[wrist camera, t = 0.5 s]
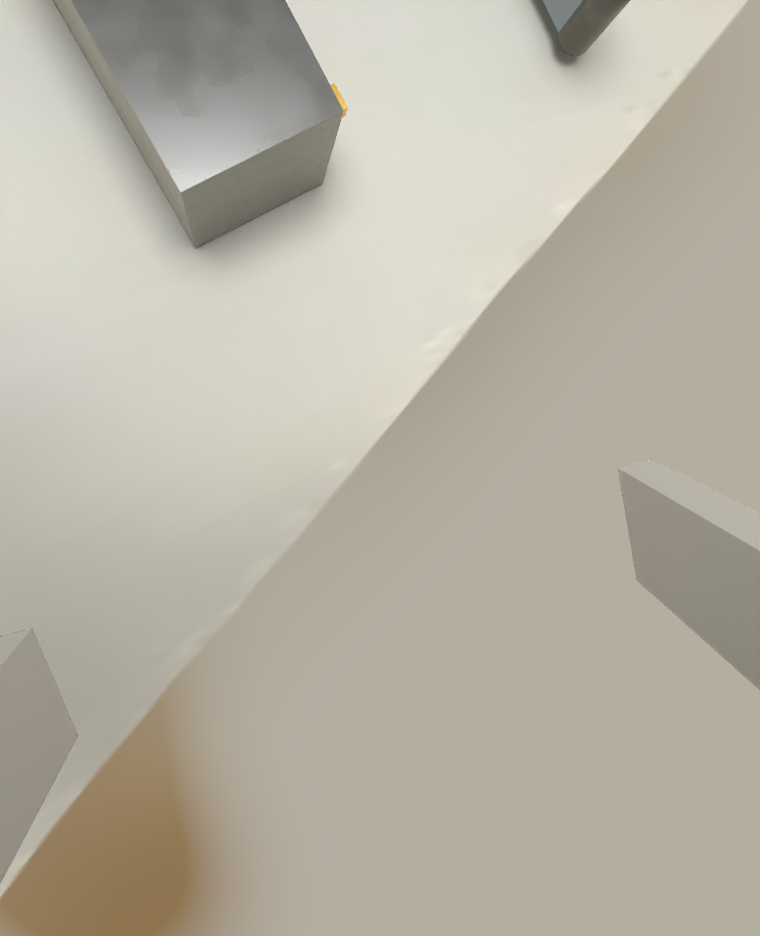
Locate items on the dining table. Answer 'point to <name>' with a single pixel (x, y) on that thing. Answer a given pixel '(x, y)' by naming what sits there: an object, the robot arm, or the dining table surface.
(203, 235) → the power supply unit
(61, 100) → the dining table surface
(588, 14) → the blue-grey flat panel
